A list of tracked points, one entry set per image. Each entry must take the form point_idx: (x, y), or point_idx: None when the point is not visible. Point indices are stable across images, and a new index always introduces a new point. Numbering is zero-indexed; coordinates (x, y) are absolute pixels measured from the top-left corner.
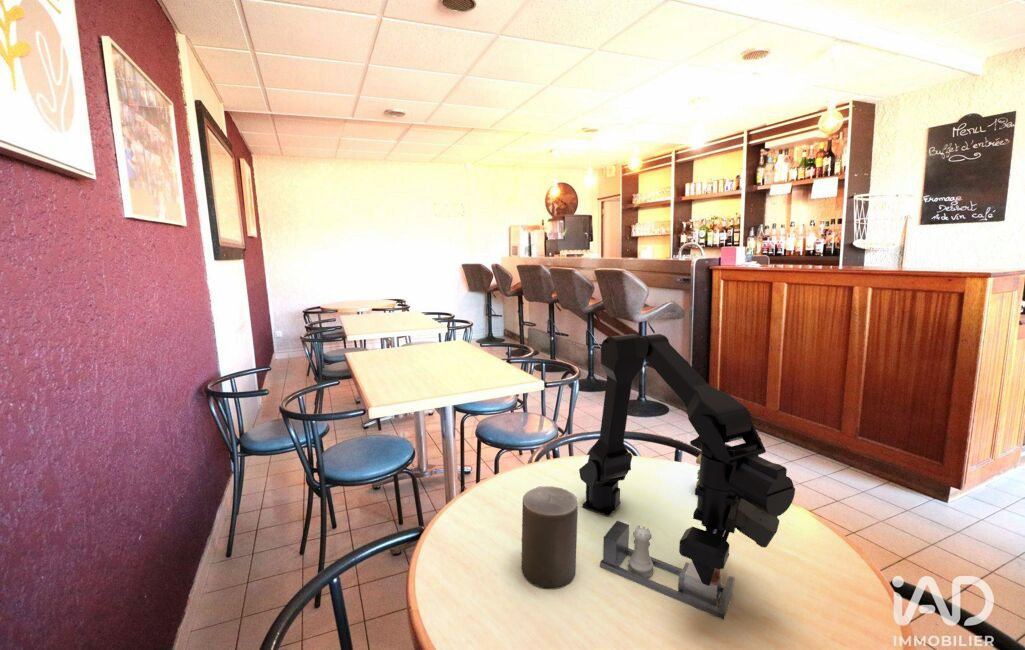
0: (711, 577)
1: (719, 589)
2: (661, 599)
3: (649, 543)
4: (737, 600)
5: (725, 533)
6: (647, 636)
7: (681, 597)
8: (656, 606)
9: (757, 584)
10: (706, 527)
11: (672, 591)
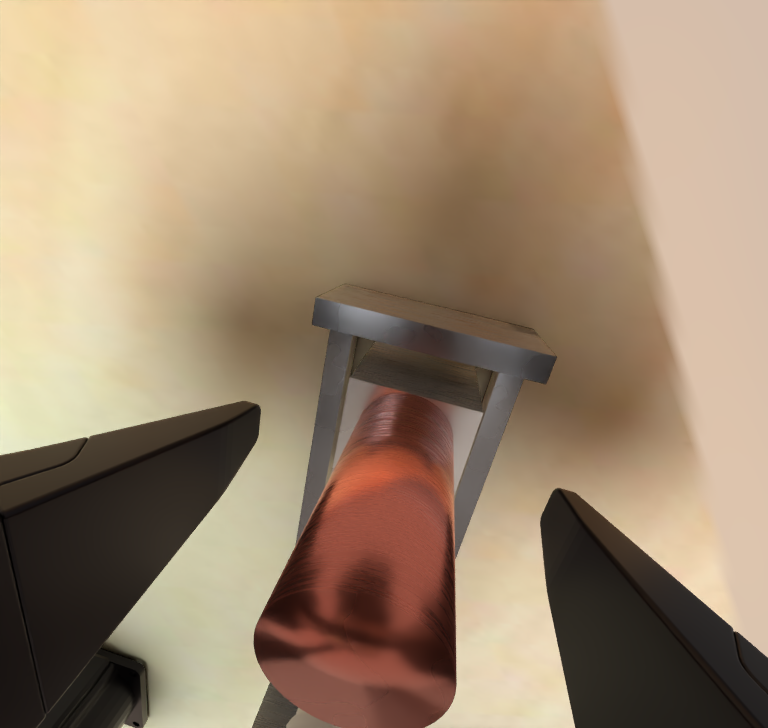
0: (659, 567)
1: (402, 361)
2: (487, 542)
3: (317, 721)
4: (379, 262)
5: (36, 534)
6: (701, 592)
7: (476, 494)
8: (531, 558)
9: (224, 160)
10: (67, 683)
11: (460, 527)
